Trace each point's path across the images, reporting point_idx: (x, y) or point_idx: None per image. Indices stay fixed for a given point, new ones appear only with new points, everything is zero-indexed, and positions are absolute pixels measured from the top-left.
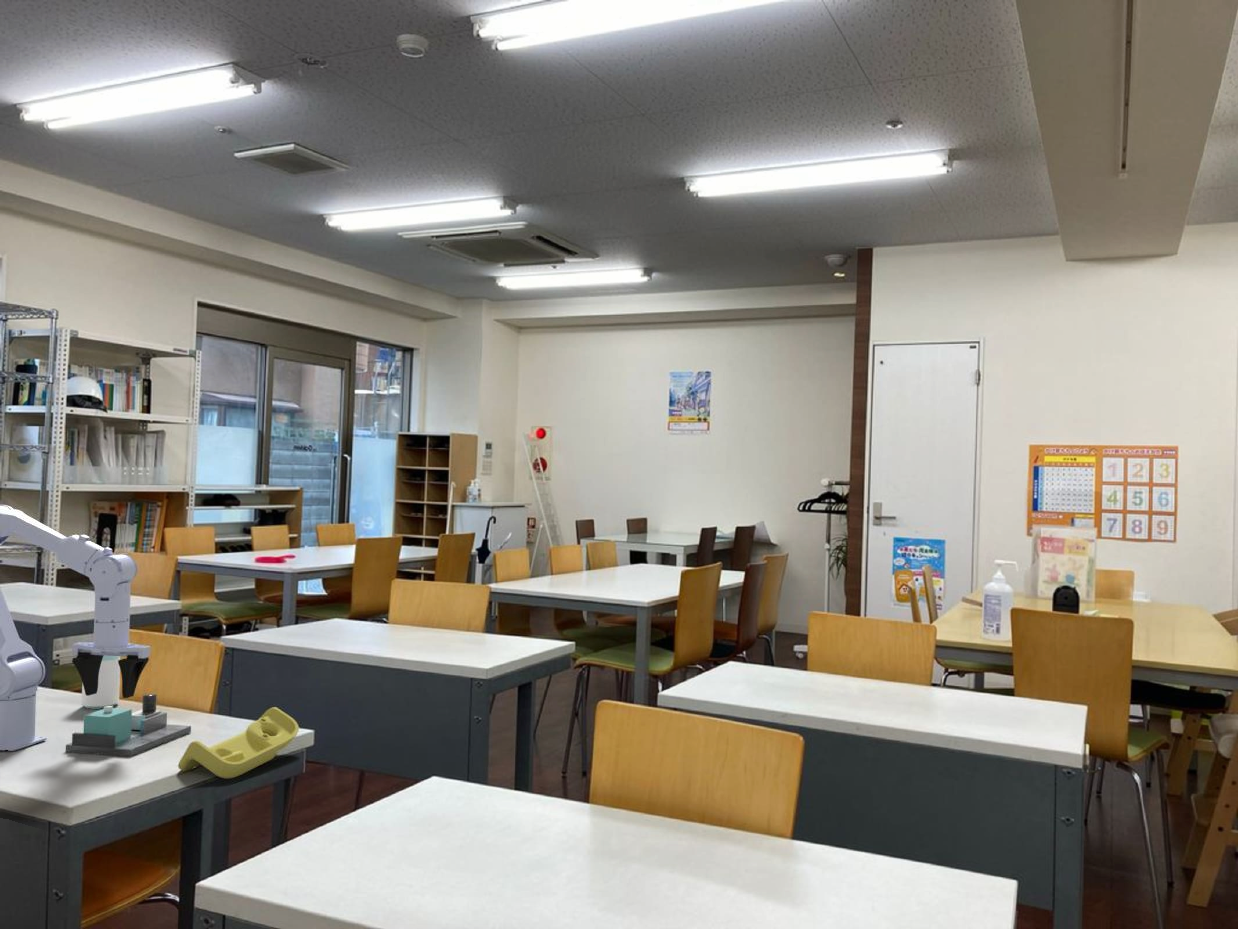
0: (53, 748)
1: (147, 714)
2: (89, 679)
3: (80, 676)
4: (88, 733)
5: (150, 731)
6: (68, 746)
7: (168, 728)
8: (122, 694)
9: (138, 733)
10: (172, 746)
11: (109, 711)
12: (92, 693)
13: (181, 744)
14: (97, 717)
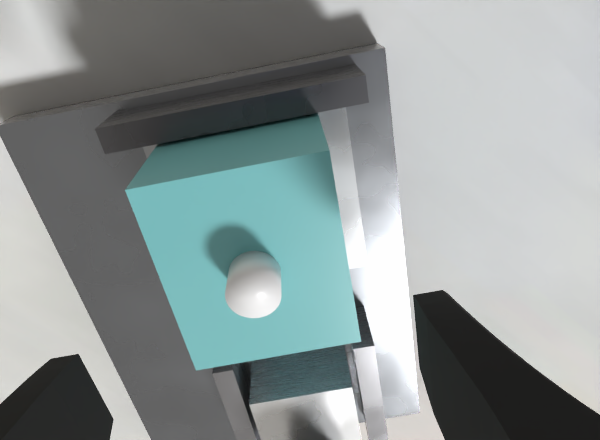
0: (485, 64)
1: (266, 426)
2: (474, 422)
3: (580, 403)
4: (278, 117)
5: None
6: (366, 50)
7: (202, 409)
8: (58, 371)
9: None
10: (34, 300)
11: (230, 271)
12: (419, 337)
13: (34, 331)
14: (219, 170)
